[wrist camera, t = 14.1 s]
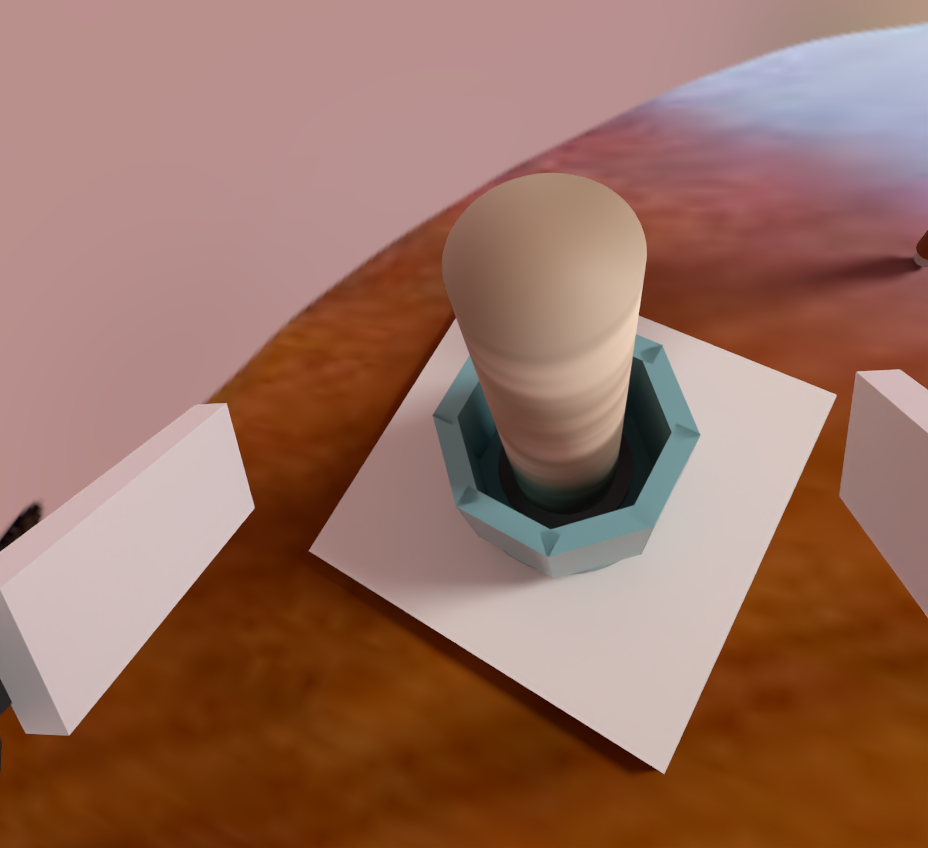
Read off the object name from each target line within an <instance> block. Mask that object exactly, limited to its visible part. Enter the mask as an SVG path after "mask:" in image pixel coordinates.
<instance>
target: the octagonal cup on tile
mask: <svg viewBox="0 0 928 848" xmlns="http://www.w3.org/2000/svg"><path fill="white" fill-rule="evenodd" d="M836 396H837V395H836V394H833V393H831V392H828V391H826V390H823V389H821V388H818V387H816V386H813V385H811V384H808V383H806V382H803V381H801V380H798V379H796V378H793V377H791V376H788V375H786V374H783V373H781V372H778V371H776V370H773V369H771V368H768V367H766V366H763V365H761V364H758V363H756V362H753V361H751V360H748V359H746V358H743V357H741V356H738V355H736V354H733V353H731V352H728V351H726V350H723V349H721V348H718V347H716V346H713V345H711V344H708V343H706V342H703V341H701V340H698V339H696V338H693V337H691V336H688V335H686V334H683V333H681V332H678V331H676V330H674V329H671V328H669V327H666V326H664V325H661V324H659V323H656V322H654V321H651V320H649V319H646V318H644V317H641V316H638V323H637V330H636V337H635V344H634V351H633V358H632V365H631V372H630V379H629V386H628V393H627V400H626V407H625V414H624V421H623V428H622V433H623V434H624V436H625V437H626V440H627V442H628V444H629V447H630V450H631V454H632V460H633V472H632V479H631V483H630V487H629V491H628V493H627V495H626V498H625V500H624V501H623V503H622V504H621V506H620V507H619V508H618V510H616V511H613V512H609V513H606V514H602V515H599V516H595V517H592V518H589V519H585V520H582V521H578V522H575V523H571V524H568V525H564V526H561V527H558V528H554V529H549V528H547V527H545V526H543V525H541V524H539V523H537V522H536V521H534V520H532V519H530V518H528V517H526V516H524V515H522V514H521V513H519V512H517V511H515V510H514V508H513V507H512V505H511V504H510V503H509V501H508V499H507V497H506V495H505V493H504V491H503V488H502V485H501V482H500V478H499V469H498V464H499V455H500V450H501V447H502V445H503V444H502V441H501V439H500V436H499V433H498V430H497V428H496V425H495V422H494V420H493V417H492V414H491V411H490V409H489V406H488V403H487V401H486V398H485V395H484V392H483V390H482V387H481V384H480V382H479V379H478V376H477V373H476V371H475V368H474V365H473V363H472V360H471V357H470V354H469V352H468V349H467V346H466V344H465V341H464V338H463V335H462V333H461V330H460V327H459V325H458V322H457V319H455V320H454V322H453V323H452V325H451V327H450V328H449V330H448V331H447V333H446V334H445V336H444V338H443V339H442V341H441V342H440V344H439V346H438V347H437V349H436V350H435V352H434V353H433V355H432V357H431V358H430V360H429V361H428V363H427V365H426V366H425V368H424V369H423V371H422V372H421V374H420V376H419V377H418V379H417V380H416V382H415V384H414V385H413V387H412V388H411V390H410V391H409V393H408V395H407V396H406V398H405V399H404V401H403V402H402V404H401V406H400V407H399V409H398V410H397V412H396V414H395V415H394V417H393V418H392V420H391V421H390V423H389V425H388V426H387V428H386V429H385V431H384V433H383V434H382V436H381V437H380V439H379V440H378V442H377V444H376V445H375V447H374V448H373V450H372V451H371V453H370V455H369V456H368V458H367V459H366V461H365V463H364V464H363V466H362V467H361V469H360V470H359V472H358V474H357V475H356V477H355V478H354V480H353V482H352V483H351V485H350V486H349V488H348V489H347V491H346V493H345V494H344V496H343V497H342V499H341V501H340V502H339V504H338V505H337V507H336V508H335V510H334V512H333V513H332V515H331V516H330V518H329V519H328V521H327V523H326V524H325V526H324V527H323V529H322V531H321V532H320V534H319V535H318V537H317V538H316V540H315V542H314V543H313V545H312V546H311V548H310V550H309V551H310V552H311V553H313V554H314V555H316V556H318V557H319V558H321V559H322V560H324V561H326V562H327V563H329V564H330V565H332V566H334V567H335V568H337V569H338V570H340V571H342V572H343V573H345V574H346V575H348V576H350V577H351V578H353V579H354V580H356V581H357V582H359V583H361V584H362V585H364V586H365V587H367V588H369V589H370V590H372V591H373V592H375V593H377V594H378V595H380V596H381V597H383V598H385V599H386V600H388V601H389V602H391V603H393V604H394V605H396V606H397V607H399V608H401V609H402V610H404V611H405V612H407V613H408V614H410V615H412V616H413V617H415V618H416V619H418V620H420V621H421V622H423V623H424V624H426V625H428V626H429V627H431V628H432V629H434V630H436V631H437V632H439V633H440V634H442V635H444V636H445V637H447V638H448V639H450V640H451V641H453V642H455V643H456V644H458V645H459V646H461V647H463V648H464V649H466V650H467V651H469V652H471V653H472V654H474V655H475V656H477V657H479V658H480V659H482V660H483V661H485V662H487V663H488V664H490V665H491V666H493V667H494V668H496V669H498V670H499V671H501V672H502V673H504V674H506V675H507V676H509V677H510V678H512V679H514V680H515V681H517V682H518V683H520V684H522V685H523V686H525V687H526V688H528V689H530V690H531V691H533V692H534V693H536V694H537V695H539V696H541V697H542V698H544V699H545V700H547V701H549V702H550V703H552V704H553V705H555V706H557V707H558V708H560V709H561V710H563V711H565V712H566V713H568V714H569V715H571V716H573V717H574V718H576V719H577V720H579V721H580V722H582V723H584V724H585V725H587V726H588V727H590V728H592V729H593V730H595V731H596V732H598V733H600V734H601V735H603V736H604V737H606V738H608V739H609V740H611V741H612V742H614V743H616V744H617V745H619V746H620V747H622V748H623V749H625V750H627V751H628V752H630V753H631V754H633V755H635V756H636V757H638V758H639V759H641V760H643V761H644V762H646V763H647V764H649V765H651V766H652V767H654V768H655V769H657V770H659V771H660V772H662V773H663V774H664V773H665V771H666V769H667V767H668V765H669V762H670V760H671V758H672V756H673V754H674V751H675V749H676V747H677V745H678V743H679V741H680V738H681V736H682V734H683V732H684V730H685V727H686V725H687V723H688V721H689V719H690V716H691V714H692V712H693V710H694V708H695V705H696V703H697V701H698V699H699V697H700V694H701V692H702V690H703V688H704V686H705V683H706V681H707V679H708V677H709V675H710V672H711V670H712V668H713V666H714V664H715V661H716V659H717V657H718V655H719V653H720V651H721V648H722V646H723V644H724V642H725V640H726V637H727V635H728V633H729V631H730V629H731V626H732V624H733V622H734V620H735V618H736V615H737V613H738V611H739V609H740V607H741V604H742V602H743V600H744V598H745V596H746V593H747V591H748V589H749V587H750V585H751V582H752V580H753V578H754V576H755V574H756V572H757V569H758V567H759V565H760V563H761V561H762V558H763V556H764V554H765V552H766V550H767V547H768V545H769V543H770V541H771V539H772V536H773V534H774V532H775V530H776V528H777V525H778V523H779V521H780V519H781V517H782V514H783V512H784V510H785V508H786V506H787V503H788V501H789V499H790V497H791V495H792V492H793V490H794V488H795V486H796V484H797V482H798V479H799V477H800V475H801V473H802V471H803V468H804V466H805V464H806V462H807V460H808V457H809V455H810V453H811V451H812V449H813V446H814V444H815V442H816V440H817V438H818V435H819V433H820V431H821V429H822V427H823V424H824V422H825V420H826V418H827V416H828V413H829V411H830V409H831V407H832V405H833V403H834V400H835V398H836Z"/></svg>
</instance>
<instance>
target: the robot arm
mask: <svg viewBox="0 0 928 848" xmlns="http://www.w3.org/2000/svg"><path fill="white" fill-rule="evenodd" d="M839 497H840V498H841V499H842V501H843V502H844V503H845V505H846V506H847V508H848V509H849V510H850V512H851V513H852V514H853V516H854V517H855V518H856V520H857V521H858V523H859V524H860V525H861V527H862V528H863V529H864V531H865V532H866V534H867V535H868V536H869V538H870V539H871V540H872V542H873V543H874V544H875V546H876V547H877V549H878V550H879V551H880V553H881V554H882V555H883V557H884V558H885V560H886V561H887V562H888V564H889V565H890V566H891V568H892V569H893V570H894V572H895V573H896V575H897V576H898V577H899V579H900V580H901V581H902V583H903V584H904V586H905V587H906V588H907V590H908V591H909V592H910V594H911V595H912V597H913V598H914V599H915V601H916V602H917V603H918V605H919V606H920V607H921V609H922V610H923V612H924V613H925V614H926V616H927V617H928V390H927V389H926V388H924V387H923V386H922V385H920V384H919V383H917V382H916V381H915V380H913V379H912V378H911V377H909V376H908V375H907V374H905V373H904V372H903V371H901V370H900V369H899V370H879V371H859V372H856V376H855V383H854V391H853V398H852V406H851V413H850V420H849V428H848V435H847V443H846V450H845V457H844V465H843V472H842V480H841V487H840V494H839ZM254 508H255V507H254V503H253V500H252V496H251V492H250V489H249V485H248V481H247V477H246V474H245V470H244V466H243V463H242V459H241V455H240V451H239V448H238V444H237V440H236V437H235V433H234V429H233V425H232V422H231V418H230V414H229V411H228V407H227V403H220V404H200V405H195V406H193V407H192V408H191V409H189V410H188V411H187V412H185V413H184V414H183V415H181V416H180V417H179V418H177V419H176V420H175V421H173V422H172V423H171V424H169V425H168V426H167V427H165V428H164V429H163V430H161V431H160V432H159V433H157V434H156V435H155V436H153V437H152V438H151V439H149V440H148V441H147V442H145V443H144V444H143V445H141V447H139V448H137V449H136V450H135V451H134V452H132V453H131V454H130V455H128V456H127V457H126V458H124V459H123V460H122V461H120V462H119V463H118V464H116V465H115V466H114V467H112V468H111V469H110V470H108V471H107V472H106V473H104V474H103V475H102V476H100V477H99V478H98V479H96V480H95V481H94V482H92V483H91V484H90V485H88V486H87V487H86V488H84V489H83V490H82V491H81V492H79V493H78V494H76V495H75V496H74V497H72V498H71V499H70V500H69V501H67V502H66V503H65V504H63V505H62V506H61V507H59V508H58V509H57V510H55V511H54V512H53V513H51V514H50V515H49V516H47V517H46V518H45V519H43V520H42V521H41V522H39V523H38V524H37V525H35V526H34V527H33V528H31V529H30V530H29V531H27V532H26V533H25V534H23V535H22V536H21V537H19V538H18V539H17V540H15V541H14V542H13V543H11V544H10V545H9V546H7V547H6V548H5V549H3V550H2V551H1V552H0V715H1V714H2V713H3V712H4V711H5V710H6V709H7V708H8V707H9V706H10V705H11V706H12V708H13V710H14V712H15V714H16V716H17V718H18V720H19V721H20V723H21V725H22V727H23V729H24V731H25V733H26V734H46V735H68V736H69V735H70V734H71V733H72V732H73V730H74V729H75V728H76V727H77V726H78V724H79V723H80V722H81V721H82V719H83V718H84V717H85V716H86V715H87V713H88V712H89V711H90V710H91V708H92V707H93V706H94V705H95V703H96V702H97V701H98V700H99V699H100V697H101V696H102V695H103V694H104V692H105V691H106V690H107V689H108V688H109V686H110V685H111V684H112V683H113V681H114V680H115V679H116V678H117V676H118V675H119V674H120V673H121V672H122V670H123V669H124V668H125V667H126V665H127V664H128V663H129V662H130V661H131V659H132V658H133V657H134V656H135V654H136V653H137V652H138V651H139V649H140V648H141V647H142V646H143V645H144V643H145V642H146V641H147V640H148V638H149V637H150V636H151V635H152V634H153V632H154V631H155V630H156V629H157V627H158V626H159V625H160V624H161V622H162V621H163V620H164V619H165V618H166V616H167V615H168V614H169V613H170V611H171V610H172V609H173V608H174V607H175V605H176V604H177V603H178V602H179V600H180V599H181V598H182V597H183V595H184V594H185V593H186V592H187V591H188V589H189V588H190V587H191V586H192V584H193V583H194V582H195V581H196V580H197V578H198V577H199V576H200V575H201V573H202V572H203V571H204V570H205V569H206V567H207V566H208V565H209V564H210V562H211V561H212V560H213V559H214V557H215V556H216V555H217V554H218V553H219V551H220V550H221V549H222V548H223V546H224V545H225V544H226V543H227V542H228V540H229V539H230V538H231V537H232V535H233V534H234V533H235V532H236V530H237V529H238V528H239V527H240V526H241V524H242V523H243V522H244V521H245V519H246V518H247V517H248V516H249V515H250V513H251V512H252V511H253V510H254ZM1 748H2V742H1V739H0V770H1Z"/></svg>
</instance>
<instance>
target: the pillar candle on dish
mask: <svg viewBox="0 0 928 848" xmlns="http://www.w3.org/2000/svg"><path fill="white" fill-rule="evenodd" d="M646 259H647V246H646V240H645V235H644V232H643V229H642V226H641V223H640V222H639V220H638V218H637V216H636V214H635V213H634V211H633V210H632V209H631V207H630V206H629V205H628V204H627V203H626V202H625V201H624V200H623V199H622V198H621V197H620V196H619V195H618V194H616V193H615V192H613V191H612V190H611V189H609V188H607V187H606V186H604V185H602V184H600V183H598V182H595V181H593V180H591V179H588V178H584V177H581V176H577V175H571V174H565V173H540V174H533V175H527V176H523V177H519V178H516V179H512V180H510V181H507V182H505V183H502V184H500V185H498V186H496V187H494V188H492V189H490V190H489V191H487V192H486V193H484V194H483V195H481V196H480V197H479V198H478V199H476V200H475V201H474V202H473V203H471V204H470V205H469V206H468V208H467V209H466V210H465V211H464V212H463V213H462V214H461V215H460V217H459V218H458V219H457V221H456V222H455V224H454V226H453V227H452V229H451V231H450V233H449V235H448V238H447V240H446V243H445V247H444V251H443V257H442V277H443V282H444V287H445V289H446V292H447V295H448V297H449V300H450V303H451V306H452V308H453V311H454V314H455V316H456V319H457V322H458V325H459V327H460V330H461V333H462V335H463V338H464V341H465V344H466V346H467V349H468V352H469V354H470V357H471V360H472V363H473V365H474V368H475V371H476V373H477V376H478V379H479V382H480V384H481V387H482V390H483V392H484V395H485V398H486V401H487V403H488V406H489V409H490V411H491V414H492V417H493V420H494V422H495V425H496V428H497V430H498V433H499V436H500V439H501V441H502V444H503V445H502V447H501V450H500V455H499V464H498V469H499V478H500V482H501V485H502V488H503V491H504V493H505V495H506V497H507V499H508V501H509V503H510V504H511V505H512V507H513V508H514V510H515V511H517V512H519V513H521V514H522V515H524V516H526V517H528V518H530V519H532V520H534V521H536V522H537V523H539V524H541V525H543V526H545V527H547V528H549V529H554V528H558V527H561V526H564V525H568V524H571V523H575V522H578V521H582V520H585V519H589V518H592V517H595V516H599V515H602V514H606V513H609V512H613V511H616V510H618V508H619V507H620V506H621V504H622V503H623V501H624V500H625V498H626V495H627V493H628V491H629V487H630V483H631V479H632V472H633V460H632V454H631V450H630V447H629V444H628V442H627V440H626V437H625V436H624V434H623V433H622V428H623V421H624V414H625V407H626V400H627V393H628V386H629V379H630V372H631V365H632V358H633V351H634V344H635V337H636V330H637V323H638V316H639V309H640V302H641V295H642V288H643V281H644V274H645V266H646Z"/></svg>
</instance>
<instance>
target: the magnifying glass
mask: <svg viewBox="0 0 928 848" xmlns="http://www.w3.org/2000/svg"><path fill="white" fill-rule="evenodd" d="M916 249H917V254H916V255H915V257H914V261H915V262H916V264H918V265H919V266H923V267H927V266H928V231H927V232H926V233H925V234H924V236H923V237H922V238H921V240H920V241H919V242H918V244H917V246H916Z"/></svg>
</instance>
